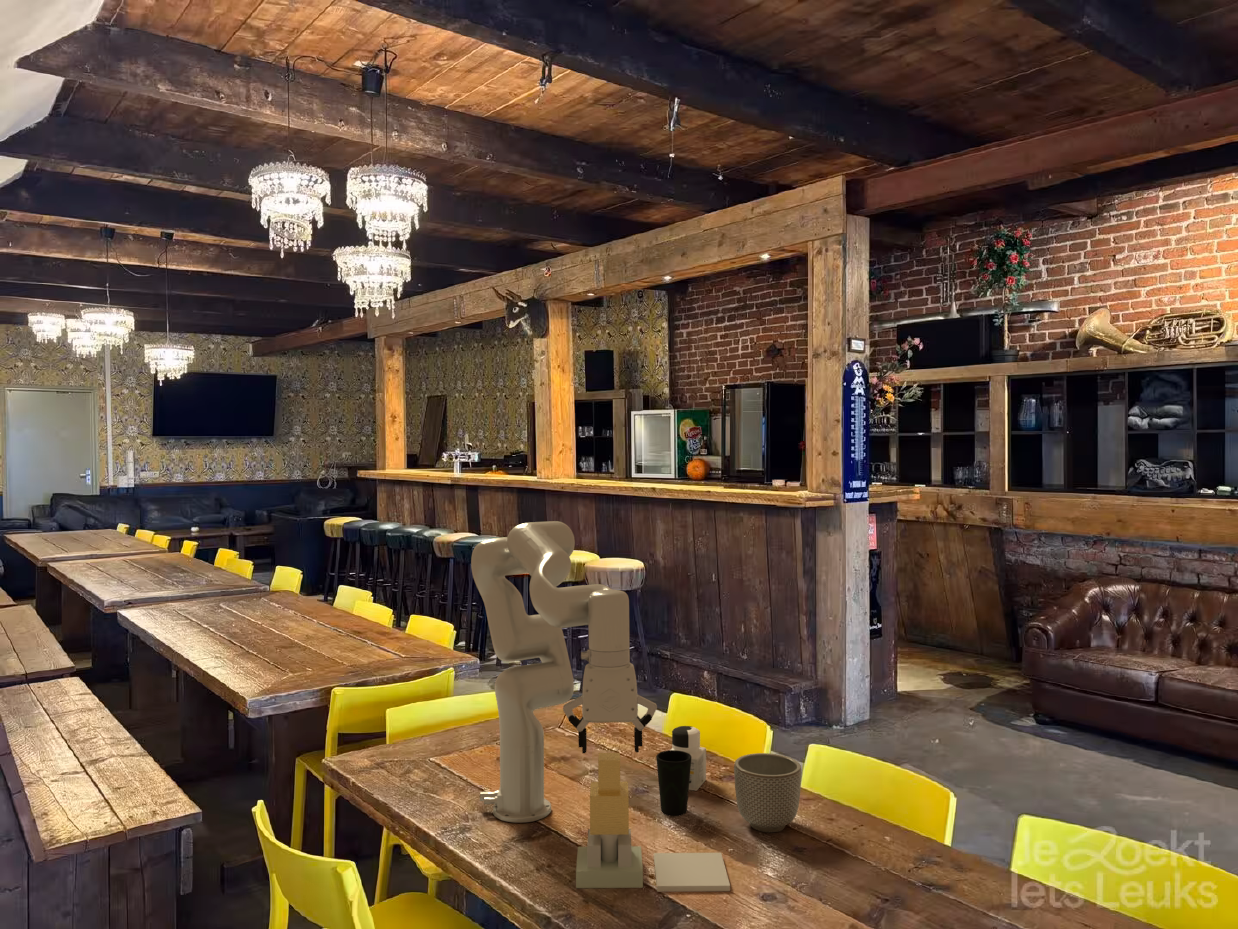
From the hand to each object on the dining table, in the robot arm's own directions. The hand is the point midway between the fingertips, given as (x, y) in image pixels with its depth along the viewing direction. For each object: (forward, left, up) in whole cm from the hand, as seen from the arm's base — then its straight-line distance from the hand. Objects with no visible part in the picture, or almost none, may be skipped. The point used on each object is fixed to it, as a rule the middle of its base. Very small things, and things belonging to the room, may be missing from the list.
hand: (610, 750), depth 165 cm
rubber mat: (+15, 0, -23) cm, 28 cm away
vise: (0, 0, -23) cm, 23 cm away
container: (+18, +45, -24) cm, 54 cm away
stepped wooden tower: (0, 0, -14) cm, 14 cm away
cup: (+14, +29, -24) cm, 40 cm away
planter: (+33, +21, -24) cm, 46 cm away
